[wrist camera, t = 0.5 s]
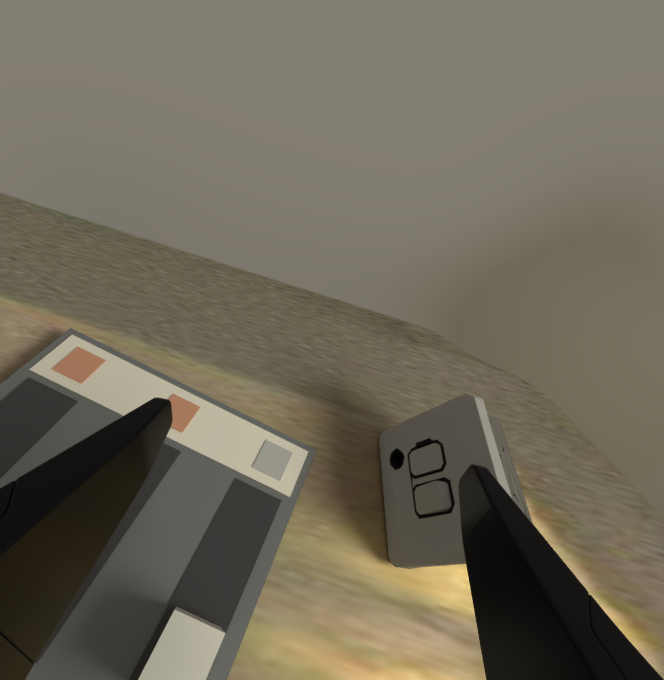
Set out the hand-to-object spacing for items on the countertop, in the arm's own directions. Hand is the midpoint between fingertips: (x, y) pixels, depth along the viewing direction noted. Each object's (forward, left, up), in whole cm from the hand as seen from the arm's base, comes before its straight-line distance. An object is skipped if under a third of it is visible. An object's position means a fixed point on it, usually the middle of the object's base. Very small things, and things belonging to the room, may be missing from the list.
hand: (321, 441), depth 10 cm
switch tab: (-7, 0, -13) cm, 15 cm away
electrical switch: (+6, -11, -15) cm, 20 cm away
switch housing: (-3, +7, -15) cm, 17 cm away
